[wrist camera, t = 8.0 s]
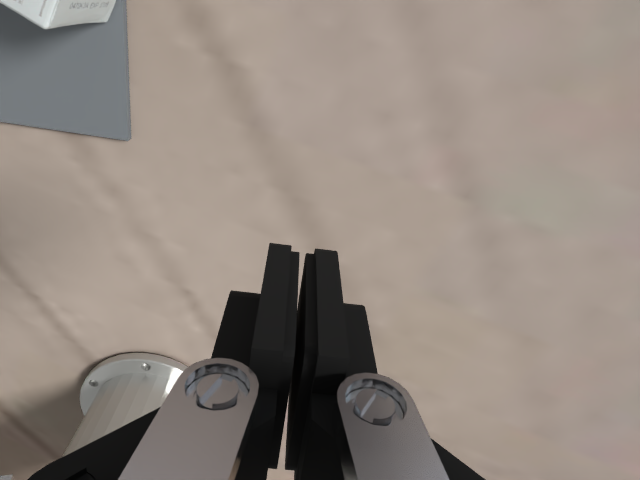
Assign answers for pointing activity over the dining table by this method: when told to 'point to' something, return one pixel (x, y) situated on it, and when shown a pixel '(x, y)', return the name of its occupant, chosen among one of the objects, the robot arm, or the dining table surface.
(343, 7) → the dining table surface
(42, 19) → the supplement box
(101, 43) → the charcoal mat
